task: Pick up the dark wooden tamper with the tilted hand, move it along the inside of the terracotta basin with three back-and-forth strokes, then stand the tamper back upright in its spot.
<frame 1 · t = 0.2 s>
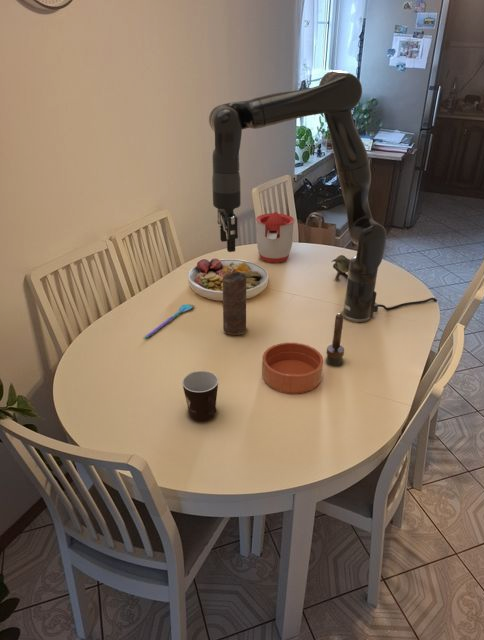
hand: (227, 246, 140), 29 cm above the table, tool pointing down, fingers open, 8 cm apart
bowl: (228, 287, 185), on the table
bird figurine: (342, 279, 193), on the table
spoon: (169, 321, 162), on the table
basin: (291, 376, 137), on the table
tamper: (334, 361, 144), on the table
candle: (234, 332, 157), on the table
coffee mug: (202, 417, 122), on the table
citrus juicer: (273, 259, 209), on the table
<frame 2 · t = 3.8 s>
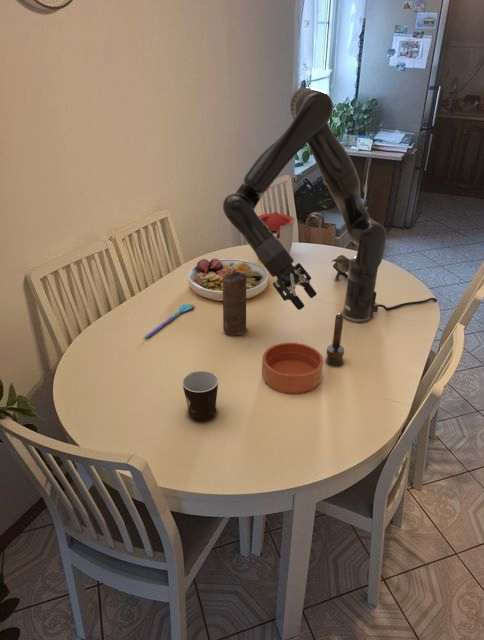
hand: (308, 302, 138), 17 cm above the table, tool tilted 45°, fingers open, 8 cm apart
nothing on the table moved.
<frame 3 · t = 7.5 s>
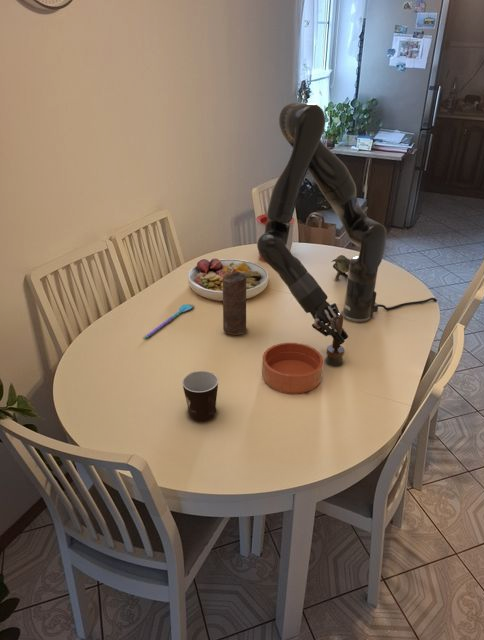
hand: (343, 340, 139), 8 cm above the table, tool tilted 45°, fingers closed on tamper
tamper: (334, 361, 144), on the table, touching gripper
everything else where it was.
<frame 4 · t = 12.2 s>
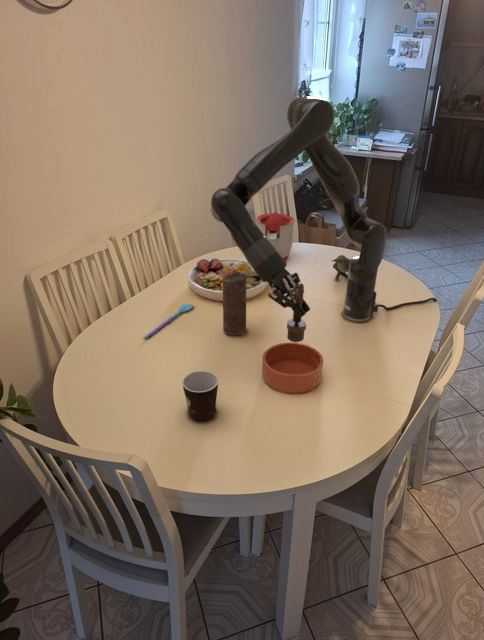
hand: (304, 313, 126), 20 cm above the table, tool tilted 45°, fingers closed on tamper
tamper: (295, 337, 131), point 13 cm above the table, touching gripper
everything else where it was.
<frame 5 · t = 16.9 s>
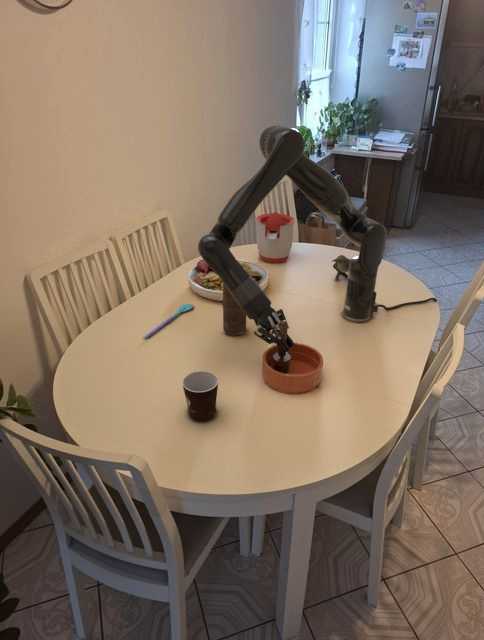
hand: (289, 348, 133), 9 cm above the table, tool tilted 45°, fingers closed on tamper
tamper: (281, 370, 138), point 1 cm above the table, touching gripper
everything else where it was.
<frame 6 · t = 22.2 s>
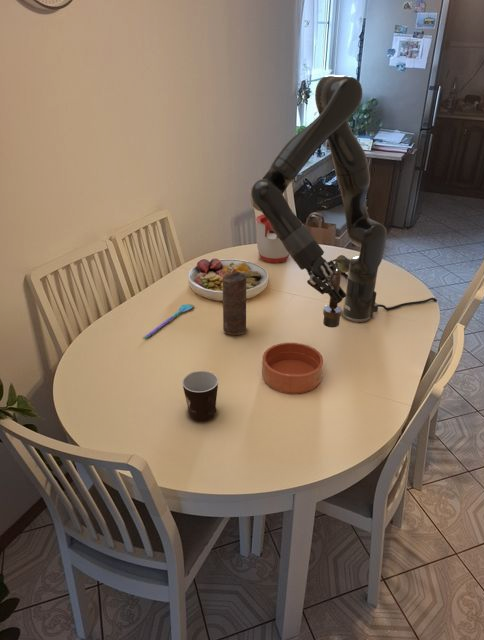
hand: (341, 299, 130), 22 cm above the table, tool tilted 45°, fingers closed on tamper
tamper: (331, 323, 135), point 14 cm above the table, touching gripper
everything else where it was.
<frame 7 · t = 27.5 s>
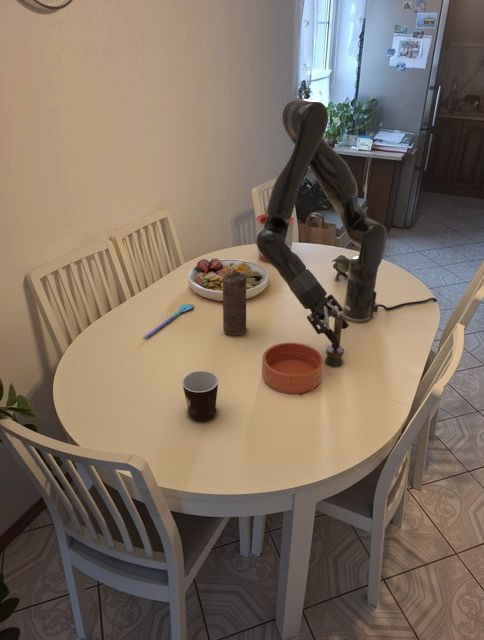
hand: (341, 334, 138), 10 cm above the table, tool tilted 45°, fingers open, 8 cm apart
tamper: (333, 362, 144), on the table
everything else where it was.
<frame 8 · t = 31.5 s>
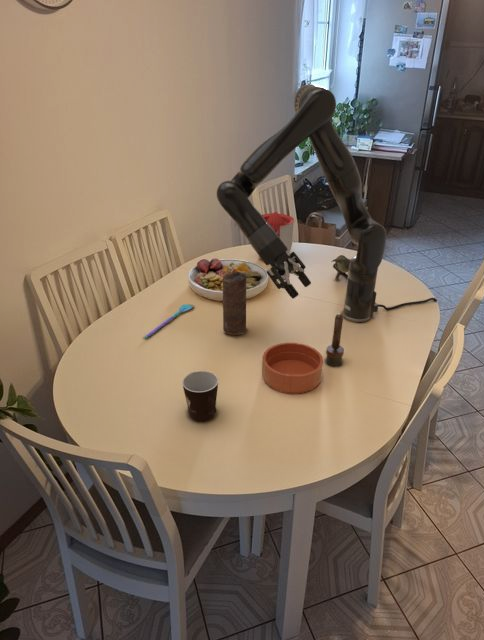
hand: (302, 290, 137), 20 cm above the table, tool tilted 45°, fingers open, 8 cm apart
nothing on the table moved.
at the end: tamper inside the target area (0.2 cm from its centre), on the table; tamper tilted 0°; basin moved 0.0 cm from its start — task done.
